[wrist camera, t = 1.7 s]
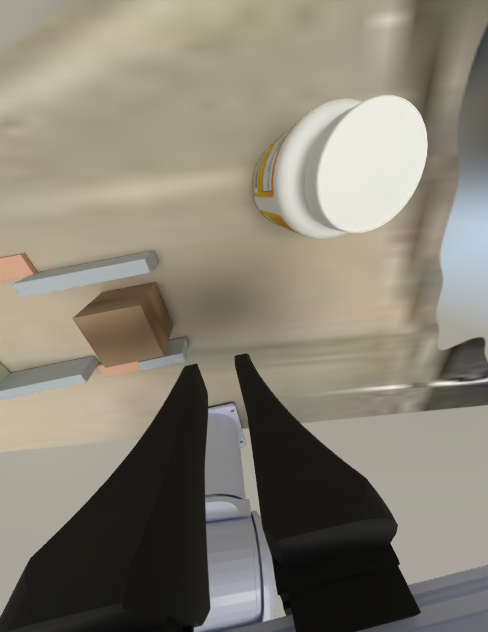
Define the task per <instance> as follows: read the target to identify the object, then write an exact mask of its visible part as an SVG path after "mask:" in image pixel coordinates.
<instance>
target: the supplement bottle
mask: <svg viewBox="0 0 488 632" xmlns="http://www.w3.org/2000/svg"><path fill="white" fill-rule="evenodd" d="M426 156H427V133H426V128H425V125H424V122H423V119H422V117H421V115H420V113H419V112H418V110H417V109H416V108H415V107H414V106H413V105H412V104H411V103H410V102H409V101H407V100H405V99H403V98H401V97H398V96H393V95H382V96H378V97H373V98H371V99H368V100H366V101H363V102H362V101H358V100H354V99H337V100H333V101H330V102H327V103H324V104H322V105H320V106H318V107H317V108H315V109H313V110H312V111H311V112H309V113H308V114H306V115H305V116H304V117H303V118H302V119H300V120H299V121H298V122H297V123H296V124H295V125H294V126H293V127H291V128H290V129H289V130H288V131H287V132H286V133H284V134H283V135H282V136H281V137H280V138H279V139H278V140H276V141H275V142H274V143H273V144H272V145H271V146H270V147H269V148H268V149H267V150H266V151H265V152H264V153H263V155H262V156H261V158H260V160H259V161H258V164H257V166H256V168H255V172H254V176H253V195H254V199H255V202H256V205H257V207H258V209H259V210H260V212H261V213H262V214H263V215H264V216H265V217H266V218H267V219H268V220H270V221H272V222H273V223H275V224H278V225H280V226H283V227H285V228H287V229H289V230H292V231H294V232H296V233H298V234H301V235H303V236H307V237H310V238H315V239H328V238H333V237H337V236H340V235H342V234H344V233H346V232H347V233H363V232H367V231H371V230H374V229H376V228H378V227H380V226H382V225H384V224H385V223H387V222H388V221H389V220H391V219H392V218H393V217H394V216H395V215H397V214H398V213H399V212H400V210H401V209H402V208H403V207H404V206H405V205H406V203H407V202H408V201H409V199H410V198H411V196H412V194H413V193H414V191H415V189H416V187H417V185H418V183H419V181H420V178H421V176H422V172H423V169H424V166H425V161H426Z"/></svg>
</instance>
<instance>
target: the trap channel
mask: <svg viewBox="0 0 488 632" xmlns="http://www.w3.org/2000/svg"><path fill="white" fill-rule="evenodd" d="M157 264H158V262H157V259H156V256H155V254H154V251H149V252H144V253H139V254H133V255H128V256H123V257H118V258H112V259H107V260H102V261H97V262H91V263H86V264H81V265H76V266H70V267H65V268H60V269H55V270H49V271H44V272H39V273H37V271H36V270H35V268H34V267H33V265H32V264H31V262H30V261H29V259H28V258H27V256H26V255H25V253H24V254H18V255H13V256H8V257H2V258H0V281H2V280H7V279H12V278H18V277H23V276H28V275H31V276H29V277H27V278H25V279H22V280H20V281H18V282H16V283H13V284H11V285H12V286H13V287H14V289H15V290H16V291H17V293H18V294H19V295H20V297H21V298H23V297H28V296H33V295H38V294H43V293H48V292H53V291H59V290H64V289H69V288H74V287H79V286H84V285H90V284H95V283H100V282H105V281H110V280H115V279H121V278H126V277H131V276H136V275H141V274H146V273H150V272H151V271H152V270H153V269H154V267H155V266H156V265H157ZM33 274H34V275H33ZM187 349H188V343H187V340H186V338H185V337H183V338H178V339H173V340H169V341H168V343H167V347H166V350H165V353H164V356H161V357H156V358H152V359H147V360H142V361H137V362H132V363H127V364H122V365H117V366H113V367H108V368H105V367H104V365H103V364H102V363H99V362H98V361H97V359H96V358H95V357H94V356H91V357H86V358H81V359H76V360H71V361H66V362H61V363H56V364H52V365H47V366H42V367H37V368H32V369H27V370H22V371H17V372H13V373H10V372H9V371H8V370H7V369H6V368H5V367H4V366H3V365H2V364H1V363H0V400H4V399H9V398H14V397H19V396H23V395H28V394H33V393H38V392H43V391H47V390H52V389H57V388H62V387H66V386H71V385H76V384H81V383H86V382H87V381H88V379H89V378H90V376H91V375H92V373H93V372H94V370H95V369H96V367H97V366H98V368H99V369H100V371H101V372H102V374H103V375H104V377H107V376H111V375H116V374H121V373H126V372H131V371H135V370H140V369H141V370H142V371H143V370H148V369H153V368H157V367H162V366H167V365H172V364H176V363H181V362H186V356H187Z"/></svg>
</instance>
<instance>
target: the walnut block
mask: <svg viewBox="0 0 488 632" xmlns="http://www.w3.org/2000/svg"><path fill="white" fill-rule="evenodd" d="M73 320H74V321H75V323H76V324H77V326H78V327H79V329H80V330H81V332H82V333H83V335H84V336H85V338H86V339H87V341H88V343H89V344H90V346H91V347H92V349H93V350H94V352H95V353H96V355H97V356H98V358H99V359H100V361H101V362H102V364H103V365H104V367H105V368H108V367H113V366H117V365H122V364H127V363H132V362H137V361H142V360H147V359H152V358H156V357H161V356H164V353H165V350H166V347H167V343H168V340H169V337H170V334H171V330H172V327H173V325H172V322H171V320H170V317H169V315H168V312H167V309H166V307H165V304H164V302H163V299H162V297H161V294H160V292H159V289H158V286H157V284H156V282H153V283H148V284H142V285H137V286H132V287H127V288H122V289H117V290H111V291H106V292H102V293H101V294H100V295H99V296H98V297H96V298H95V299H94V300H93V301H92V302H91V303H90V304H88V305H87V306H86V307H85V308H84V309H83V310H82V311H80V312H79V313H78V314H77V315H76V316H75V317H73Z"/></svg>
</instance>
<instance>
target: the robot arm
mask: <svg viewBox="0 0 488 632" xmlns="http://www.w3.org/2000/svg"><path fill="white" fill-rule="evenodd" d="M234 357H235V367H236V371H237V375H238V379H239V383H240V388H241V392H242V396H243V400H244V404H245V408H246V412H247V416H248V423H249V430H250V437H251V444H252V451H253V459H254V466H255V474H256V481H257V489H258V497H259V505H260V513H261V516H260V515H259V514H258V512H257V511H251V509H250V501H249V499H245V490H244V481H243V472H242V464H241V463H242V462H241V453H240V448H243V447H245V446H246V442H245V438H244V435H243V431H242V427H241V424H240V420H239V417H238V413H237V409H236V406H235V404H233V403H230V404H226V405H221V406H217V407H212V408H208V394H207V389H206V387H205V384H204V381H203V378H202V376H201V373H200V370H199V367H198V365H197V364H194V365H189V366H185V367H184V368H183V370H182V372H181V374H180V376H179V378H178V380H177V382H176V383H175V385H174V387H173V389H172V391H171V392H170V394H169V396H168V397H167V399H166V401H165V403H164V404H163V406H162V408H161V409H160V411H159V412H158V414H157V415H156V417H155V418H154V420H153V422H152V423H151V425H150V426H149V427H148V429H147V430H146V432H145V433H144V435H143V436H142V437H141V439H140V440H139V441H138V443H137V444H136V446H135V447H134V448H133V449H132V451H131V452H130V453H129V454H128V456H127V457H126V458H125V459H124V461H123V462H122V463H121V464H120V465H119V467H118V468H117V469H116V470H115V471H114V473H113V474H112V475H111V476H110V477H109V479H108V480H107V481H106V482H105V483H104V484H103V485H102V486H101V487H100V488H99V490H98V491H97V492H96V493H95V494H94V495H93V496H92V497H91V498H90V500H88V502H86V504H85V505H84V506H83V507H82V508H81V509H80V510H79V511H78V512H77V513H76V514H75V515H74V516H73V517H72V518H71V519H70V520H69V521H68V522H67V523H66V524H65V525H64V526H63V527H62V528H61V529H60V530H59V531H58V532H57V533H56V534H55V535H54V536H53V537H52V538H51V539H50V540H49V541H48V542H47V543H46V544H45V545H44V546H43V547H42V548H41V549H40V550H38V552H36V553H35V554H34V555H33V556H32V557H31V558H30V560H29V562H28V564H27V565H26V567H25V569H24V571H23V573H22V575H21V577H20V579H19V581H18V583H17V585H16V587H15V589H14V591H13V593H12V595H11V597H10V599H9V601H8V603H7V605H6V607H5V609H4V611H3V613H2V615H1V617H0V632H488V565H486V566H482V567H478V568H474V569H470V570H466V571H462V572H458V573H454V574H450V575H447V576H443V577H439V578H435V579H431V580H427V581H423V582H419V583H415V584H411V585H407V583H406V581H405V579H404V577H403V575H402V573H401V571H400V569H399V567H398V565H399V564H400V563H399V560H398V558H397V556H396V554H395V552H394V550H393V548H392V546H391V544H390V542H391V541H392V539H393V537H394V536H395V534H396V532H397V527H398V525H397V523H396V521H395V519H394V517H393V515H392V513H391V512H390V510H389V509H388V507H387V506H386V504H385V503H384V501H383V500H382V498H381V497H380V496H379V494H378V493H377V492H376V490H375V489H374V488H373V486H372V485H371V484H370V483H369V481H368V480H367V479H366V478H365V477H364V476H362V475H361V474H360V473H359V472H357V471H356V470H355V469H353V468H352V467H350V466H349V465H348V464H347V463H346V462H344V461H343V460H342V459H341V458H339V457H338V456H337V455H335V454H334V453H333V452H332V451H331V450H330V449H328V448H327V447H326V446H325V445H324V444H322V443H321V442H320V441H319V440H318V439H317V438H316V437H315V436H313V435H312V434H311V433H310V432H309V431H308V430H307V429H306V428H304V427H303V426H302V425H301V424H300V423H299V422H298V421H297V420H296V419H295V418H294V417H293V416H292V415H291V413H290V412H289V411H288V410H287V409H286V408H285V407H284V406H283V405H282V404H281V402H280V401H279V400H278V399H277V398H276V397H275V395H274V394H273V393H272V392H271V390H270V389H269V388H268V386H267V385H266V384H265V382H264V381H263V379H262V378H261V377H260V375H259V373H258V372H257V370H256V369H255V367H254V365H253V363H252V361H251V359H250V356H249V355H248V354H247V353H246V354H241V355H236V356H234ZM274 575H275V579H274ZM275 581H276V587H277V593H278V595H280V597H281V599H282V602H283V607H284V611H285V613H286V616H285V617H281V618H277V619H275V609H274V604H275Z"/></svg>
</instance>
